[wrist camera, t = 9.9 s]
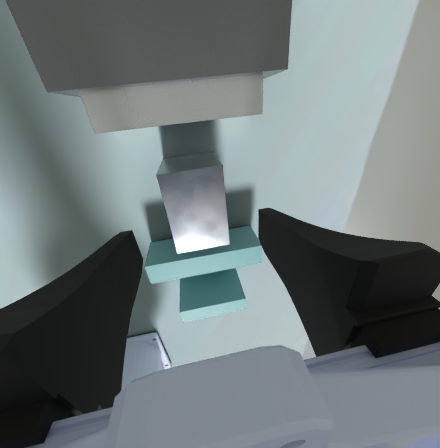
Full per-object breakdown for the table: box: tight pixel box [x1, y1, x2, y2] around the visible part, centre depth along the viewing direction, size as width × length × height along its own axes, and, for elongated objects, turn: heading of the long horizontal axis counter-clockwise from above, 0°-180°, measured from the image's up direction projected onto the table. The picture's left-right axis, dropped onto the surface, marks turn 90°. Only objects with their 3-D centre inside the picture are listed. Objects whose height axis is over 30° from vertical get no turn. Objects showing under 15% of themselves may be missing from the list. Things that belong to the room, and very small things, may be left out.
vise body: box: [6, 0, 292, 133], centre depth 11 cm, size 6×12×4 cm, turn 95°
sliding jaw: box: [145, 226, 262, 322], centre depth 19 cm, size 6×10×5 cm, turn 95°
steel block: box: [156, 152, 230, 254], centre depth 16 cm, size 6×4×5 cm, turn 6°
